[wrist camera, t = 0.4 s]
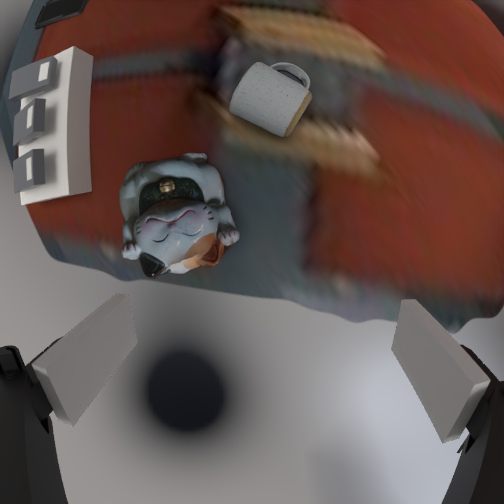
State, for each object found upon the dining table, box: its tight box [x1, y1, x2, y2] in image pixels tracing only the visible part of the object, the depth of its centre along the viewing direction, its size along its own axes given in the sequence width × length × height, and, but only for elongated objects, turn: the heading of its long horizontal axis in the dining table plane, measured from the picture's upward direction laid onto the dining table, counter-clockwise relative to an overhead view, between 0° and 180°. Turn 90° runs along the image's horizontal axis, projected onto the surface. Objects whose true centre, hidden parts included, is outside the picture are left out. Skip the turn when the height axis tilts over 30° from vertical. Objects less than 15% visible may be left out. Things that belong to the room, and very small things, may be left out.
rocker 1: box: [9, 56, 58, 102], centre depth 27 cm, size 8×5×2 cm, turn 93°
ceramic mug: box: [230, 62, 312, 137], centre depth 31 cm, size 11×8×8 cm
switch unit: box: [19, 46, 93, 205], centre depth 34 cm, size 24×12×8 cm, turn 3°
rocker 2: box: [13, 98, 46, 146], centre depth 29 cm, size 8×5×2 cm, turn 93°
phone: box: [34, 0, 89, 29], centre depth 31 cm, size 8×1×15 cm
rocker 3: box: [13, 149, 45, 193], centre depth 31 cm, size 8×5×2 cm, turn 94°
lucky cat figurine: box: [118, 153, 240, 279], centre depth 34 cm, size 15×12×14 cm
